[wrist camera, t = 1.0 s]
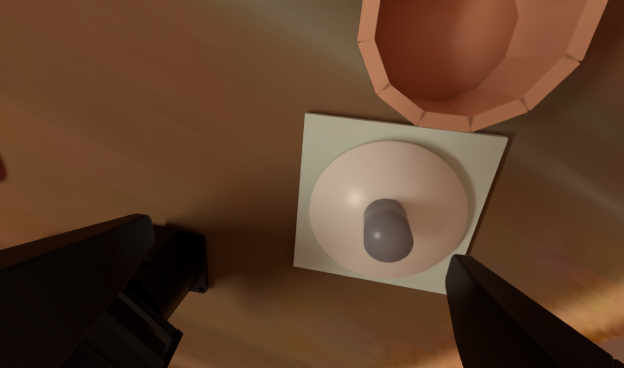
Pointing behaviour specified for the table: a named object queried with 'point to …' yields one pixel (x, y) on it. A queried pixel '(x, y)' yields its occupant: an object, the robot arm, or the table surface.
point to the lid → (388, 209)
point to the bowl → (472, 55)
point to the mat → (445, 143)
